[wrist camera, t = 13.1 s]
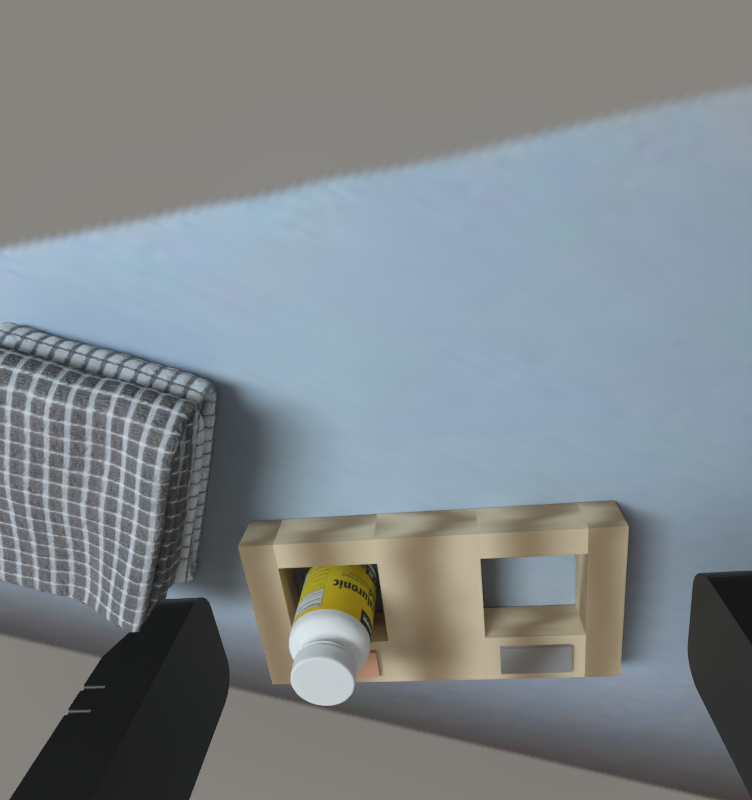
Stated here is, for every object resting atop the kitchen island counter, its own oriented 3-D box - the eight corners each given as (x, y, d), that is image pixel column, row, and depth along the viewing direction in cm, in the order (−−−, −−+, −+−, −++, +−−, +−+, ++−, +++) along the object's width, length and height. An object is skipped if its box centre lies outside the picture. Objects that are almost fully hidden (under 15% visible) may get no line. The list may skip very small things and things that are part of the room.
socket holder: (614, 500, 40) (630, 529, 37) (608, 643, 45) (621, 679, 42) (249, 521, 43) (236, 549, 40) (281, 653, 48) (271, 687, 45)
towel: (229, 368, 38) (184, 417, 31) (197, 579, 46) (155, 658, 39) (5, 311, 38) (-93, 347, 31) (9, 532, 45) (-70, 604, 38)
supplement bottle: (392, 582, 44) (384, 692, 35) (339, 614, 46) (318, 727, 37) (346, 534, 43) (325, 636, 34) (293, 569, 44) (259, 675, 35)
